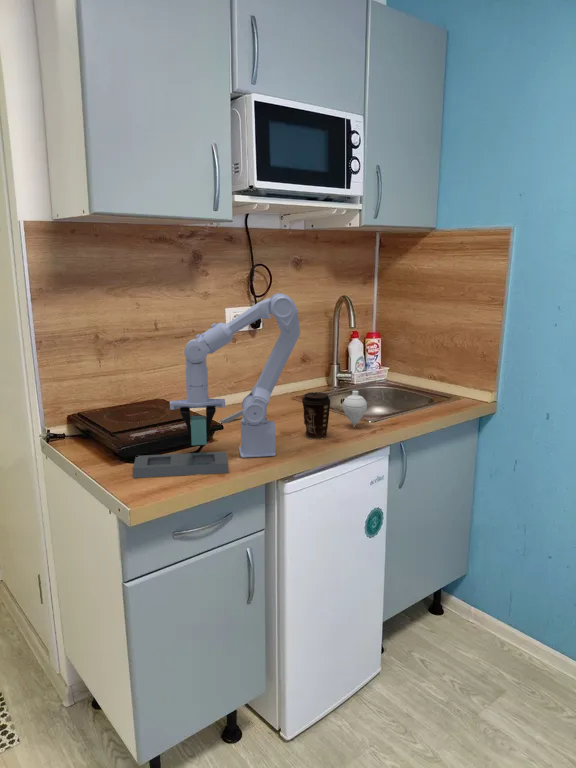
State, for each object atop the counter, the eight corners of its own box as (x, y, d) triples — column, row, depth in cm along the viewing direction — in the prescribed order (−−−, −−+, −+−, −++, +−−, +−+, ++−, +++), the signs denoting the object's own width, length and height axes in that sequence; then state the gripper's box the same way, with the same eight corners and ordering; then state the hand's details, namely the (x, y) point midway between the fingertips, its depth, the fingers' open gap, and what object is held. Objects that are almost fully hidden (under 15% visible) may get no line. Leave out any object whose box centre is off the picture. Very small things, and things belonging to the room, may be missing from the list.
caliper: (263, 413, 196) (263, 395, 195) (265, 413, 196) (265, 396, 194) (217, 425, 182) (217, 406, 180) (220, 425, 181) (219, 406, 180)
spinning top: (338, 429, 177) (339, 392, 175) (346, 423, 184) (348, 387, 181) (361, 432, 174) (363, 394, 171) (369, 426, 181) (370, 389, 178)
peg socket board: (226, 460, 149) (226, 451, 148) (228, 472, 140) (228, 463, 140) (136, 465, 145) (136, 455, 145) (133, 478, 136) (132, 468, 136)
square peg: (206, 440, 155) (205, 415, 154) (206, 444, 151) (206, 419, 150) (191, 440, 154) (190, 416, 153) (191, 445, 151) (190, 420, 149)
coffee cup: (307, 430, 175) (308, 390, 173) (333, 433, 172) (334, 392, 170) (297, 438, 167) (298, 396, 165) (324, 442, 164) (325, 399, 162)
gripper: (223, 380, 154) (224, 428, 157) (169, 382, 152) (171, 430, 155) (225, 386, 148) (226, 435, 151) (168, 388, 145) (171, 438, 148)
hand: (198, 433), depth 152 cm, fingers closed on square peg, 4 cm apart
